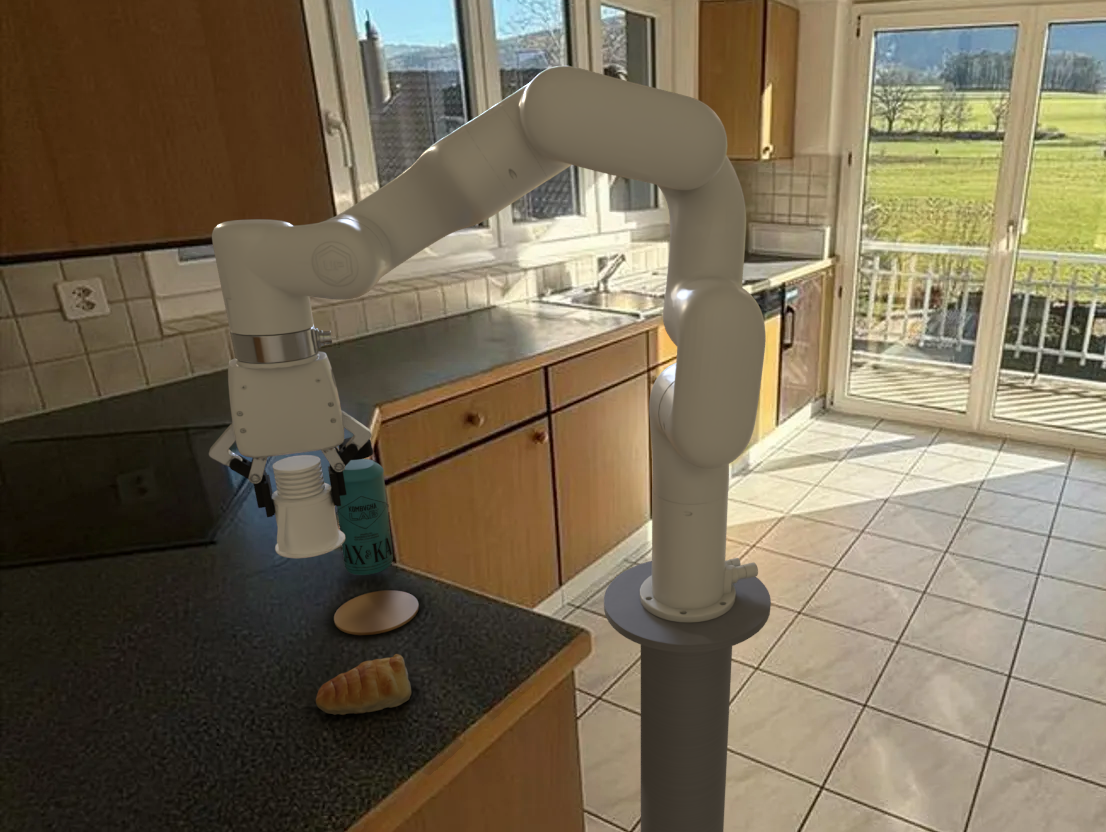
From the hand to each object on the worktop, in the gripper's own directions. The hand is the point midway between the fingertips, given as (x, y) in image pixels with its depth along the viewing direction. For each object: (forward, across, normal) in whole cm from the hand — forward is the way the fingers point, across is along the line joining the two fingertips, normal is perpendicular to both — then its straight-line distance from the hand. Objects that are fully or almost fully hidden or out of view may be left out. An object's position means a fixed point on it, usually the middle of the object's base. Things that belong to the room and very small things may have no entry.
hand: (304, 505), depth 86 cm
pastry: (+19, -4, +11) cm, 23 cm away
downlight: (+5, 0, 0) cm, 5 cm away
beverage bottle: (+19, -6, -18) cm, 27 cm away
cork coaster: (+19, -6, -7) cm, 21 cm away
